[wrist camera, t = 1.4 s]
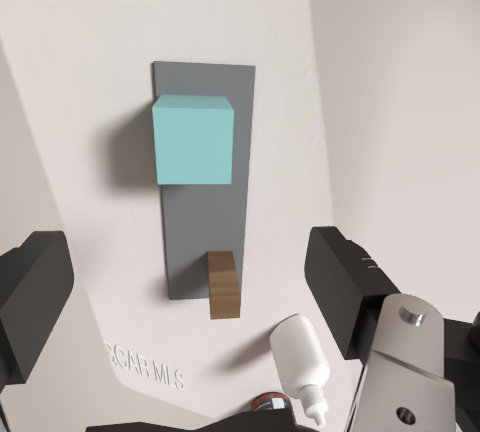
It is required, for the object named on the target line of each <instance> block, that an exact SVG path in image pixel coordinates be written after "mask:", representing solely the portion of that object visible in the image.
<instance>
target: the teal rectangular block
mask: <svg viewBox="0 0 480 432" xmlns="http://www.w3.org/2000/svg"><path fill="white" fill-rule="evenodd" d="M152 113H153V127H154V140H155V154H156V168H157V182H158V184H231V172H232V146H233V120H234V109H233V108H232V106H231V105H230V103H229V102H228V100H227V99H226V97H224V96H196V95H167V94H161V95H160V97H159V98H158V100H157V101H156V103H155V104H154V105H153V107H152Z"/></svg>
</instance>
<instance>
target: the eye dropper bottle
mask: <svg viewBox="0 0 480 432" xmlns="http://www.w3.org/2000/svg"><path fill="white" fill-rule="evenodd" d="M269 341H270V345H271V349H272V353H273V357H274V360H275V364H276V368H277V372H278V375H279V379H280V383H281V386H282V389H283V391H284V392H285V394H287V395H288V396H290V397H291V398H294V399H300V400H301V403H302V406H303V409H304V413H305V415H306V416H307V417H309V418H314V420H315V421H316V423H317V425H318V427H319V428H323V427H325V419H324V415H325V414H326V413H327V412H328V409H329V407H328V404H327V401H326V399H325V396H324V393H323V391H322V387H323V386H324V384H325V383H326V381H327V379H328V377H329V375H330V368H329V365H328V362H327V360H326V357H325V355H324V353H323V350H322V348H321V346H320V343H319V341H318V338H317V336H316V334H315V331H314V329H313V327H312V324H311V322H310V321H309V320H308V319H307V318H305V317H304V316H303V315H300V314H297V315H294V316H292V317H290V318H288V319H286V320H284V321H283V322H282V323H280V324H279V325H278V326H277V327H276V328H275V329H274V331H273V332H272V334H271V335H270V339H269Z"/></svg>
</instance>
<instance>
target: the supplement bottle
mask: <svg viewBox="0 0 480 432" xmlns="http://www.w3.org/2000/svg"><path fill="white" fill-rule="evenodd" d="M289 407H290V408H291V412H292V415H293V419H294V423H295V424H297V423H296V420H295V415H294V412H293V408H292V405H291V402H290V399H289V398H288V397H287V396H286V395H284V394H281V393H268V394H264V395H262V396H260V397H259V398H258V399H256V400H255V401H254V403H253V405H252V408H251V410H252V411H257V410H268V409H278V408H289Z"/></svg>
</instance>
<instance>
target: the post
mask: <svg viewBox="0 0 480 432" xmlns="http://www.w3.org/2000/svg"><path fill="white" fill-rule="evenodd" d="M208 286H209V301H210V317H211V319H228V318H240V306H241V292H240V287H239V282H238V276H237V271H236V266H235V261H234V256H233V251H208Z"/></svg>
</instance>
